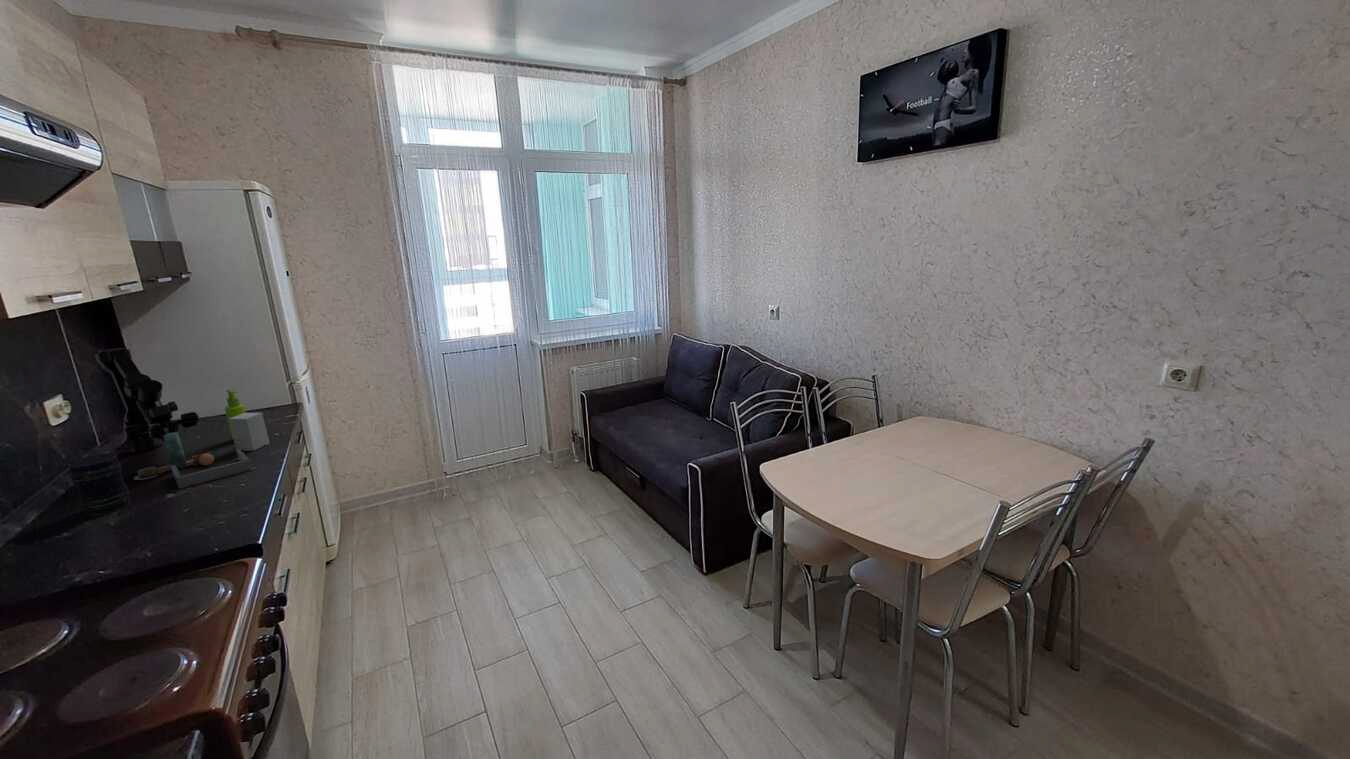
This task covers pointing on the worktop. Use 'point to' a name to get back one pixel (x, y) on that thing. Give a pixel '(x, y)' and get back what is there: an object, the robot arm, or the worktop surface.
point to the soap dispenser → (233, 406)
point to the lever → (171, 457)
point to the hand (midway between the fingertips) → (173, 445)
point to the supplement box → (249, 431)
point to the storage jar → (99, 483)
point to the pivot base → (147, 477)
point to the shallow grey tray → (212, 472)
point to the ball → (206, 459)
